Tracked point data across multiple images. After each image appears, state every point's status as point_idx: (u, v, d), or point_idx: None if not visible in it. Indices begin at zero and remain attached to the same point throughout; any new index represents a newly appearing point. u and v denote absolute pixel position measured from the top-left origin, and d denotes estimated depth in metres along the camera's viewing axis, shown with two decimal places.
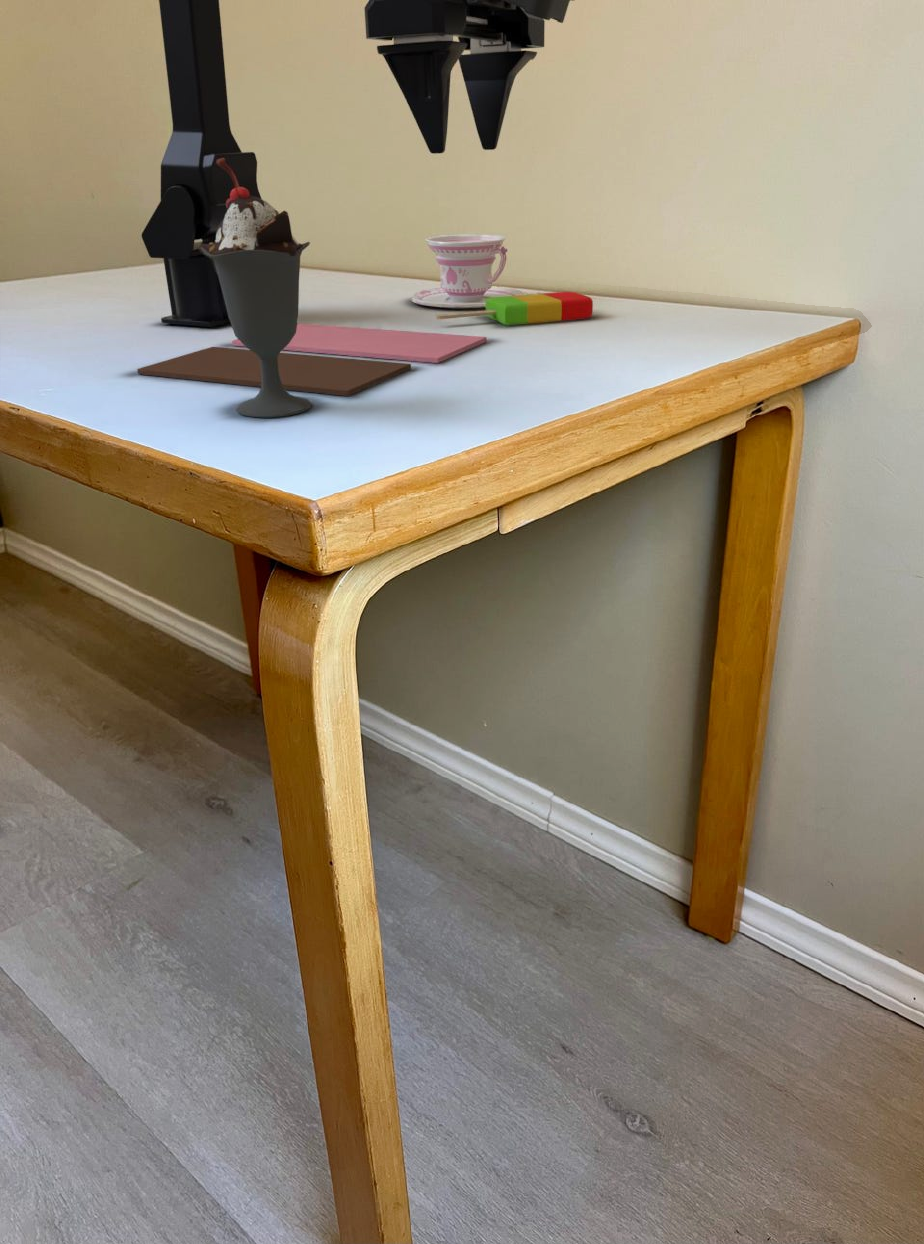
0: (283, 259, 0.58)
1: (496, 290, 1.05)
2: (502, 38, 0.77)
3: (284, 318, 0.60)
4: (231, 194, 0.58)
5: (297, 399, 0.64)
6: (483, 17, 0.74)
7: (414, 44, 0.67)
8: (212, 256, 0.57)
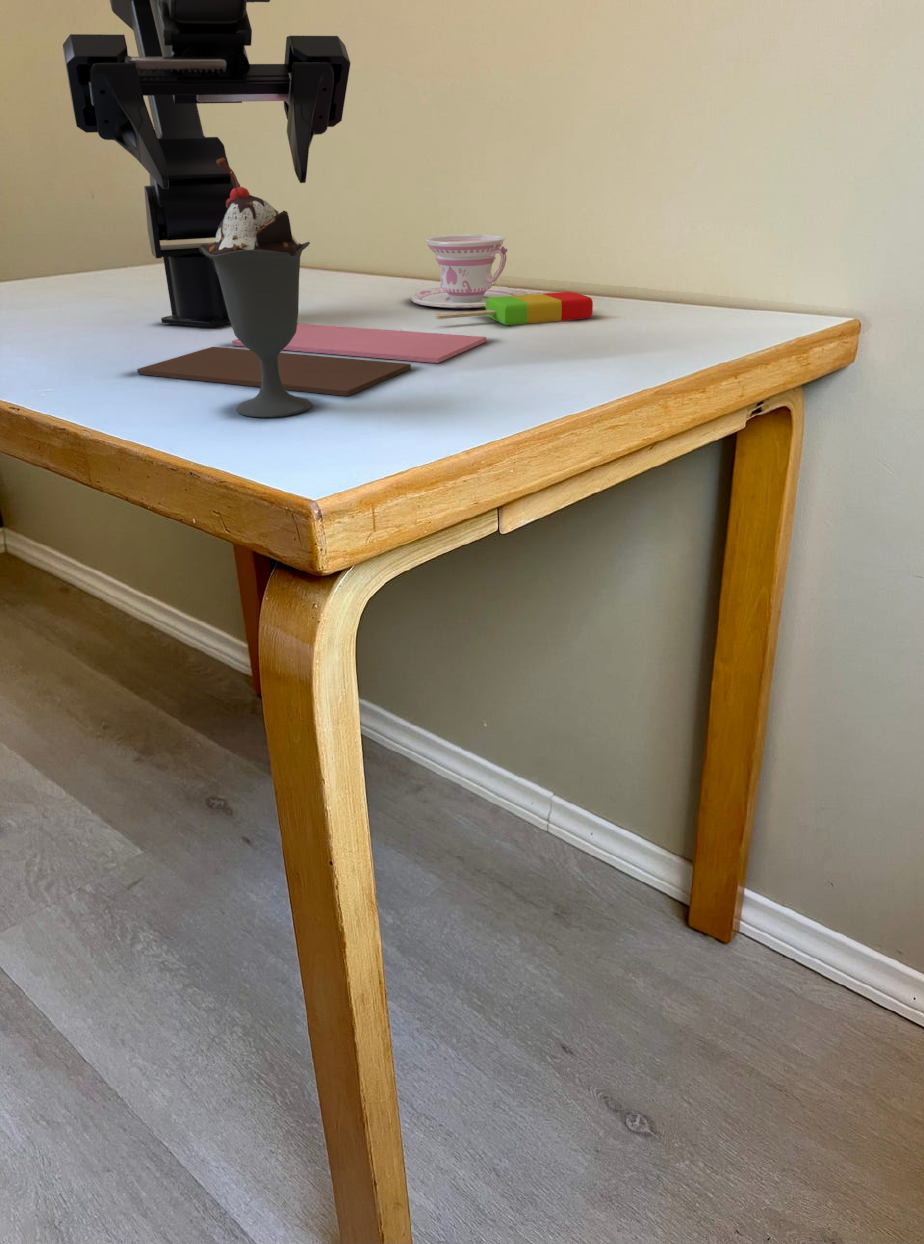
0: (283, 259, 0.58)
1: (496, 290, 1.05)
2: (290, 76, 0.68)
3: (284, 318, 0.60)
4: (231, 194, 0.58)
5: (297, 399, 0.64)
6: (248, 67, 0.68)
7: (93, 97, 0.64)
8: (212, 256, 0.57)
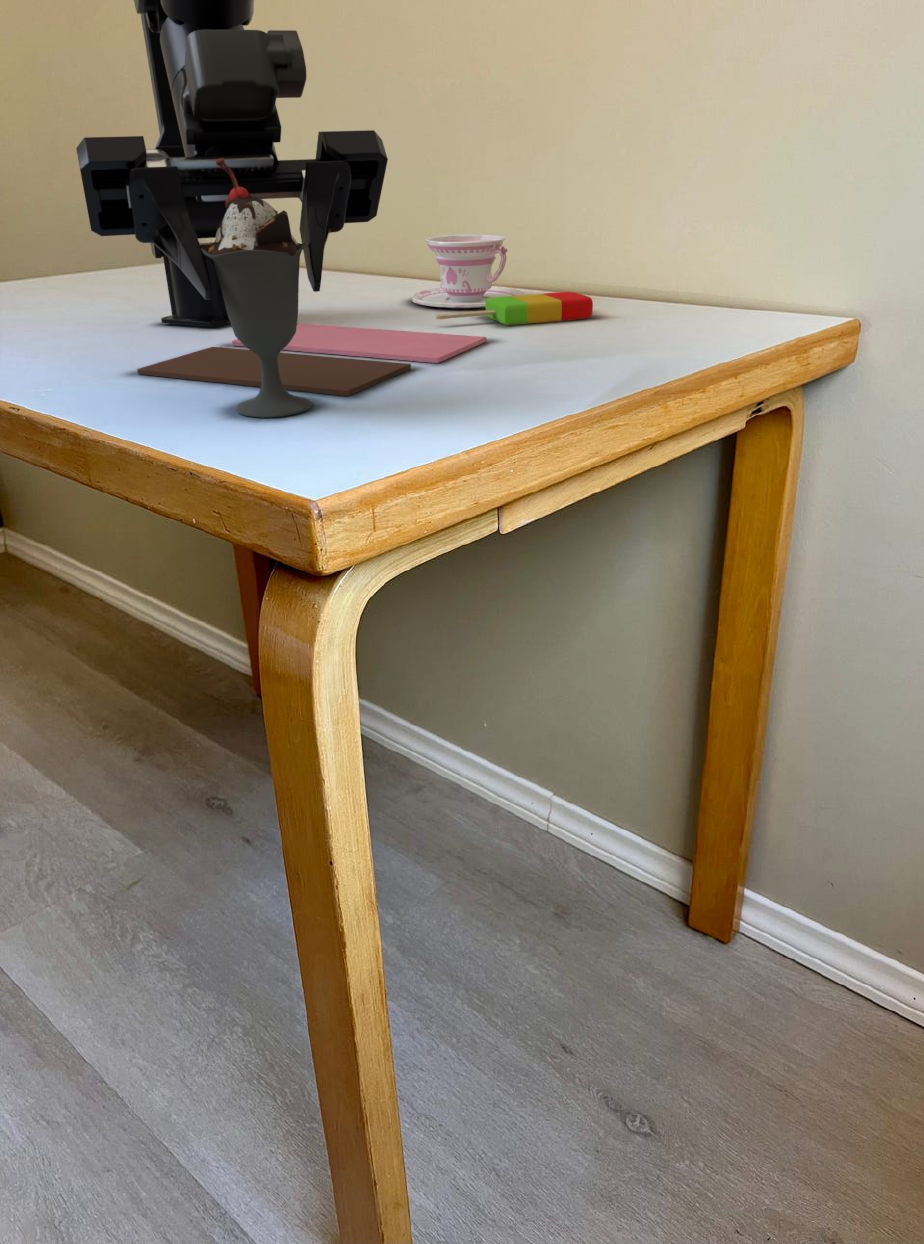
0: (283, 259, 0.58)
1: (496, 290, 1.05)
2: (303, 174, 0.62)
3: (284, 318, 0.60)
4: (230, 194, 0.58)
5: (297, 399, 0.64)
6: (277, 164, 0.62)
7: None
8: (212, 256, 0.57)
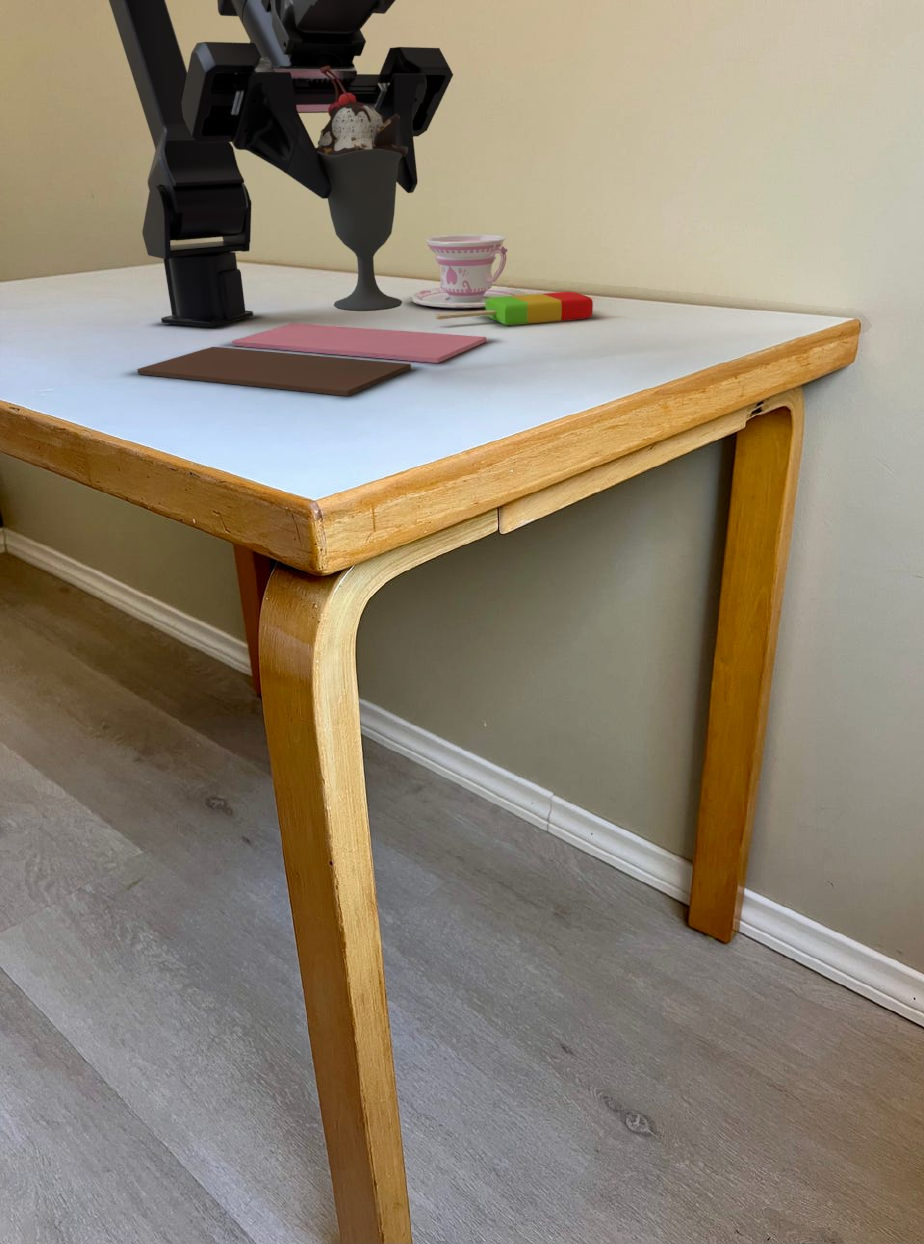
0: (394, 159, 0.64)
1: (496, 290, 1.05)
2: (380, 87, 0.68)
3: (389, 216, 0.66)
4: (341, 99, 0.63)
5: (388, 296, 0.70)
6: None
7: (240, 107, 0.63)
8: (333, 156, 0.62)
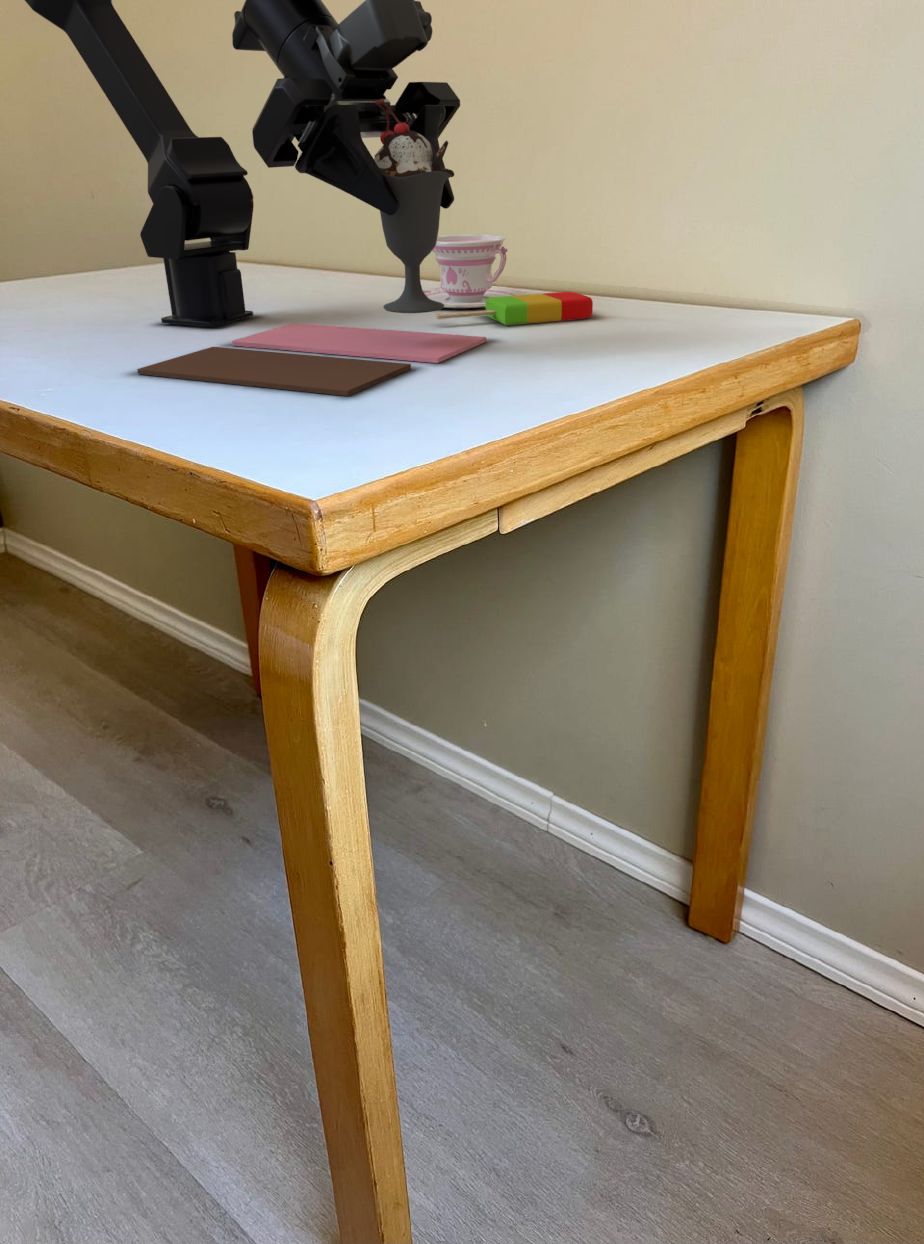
0: (445, 179, 0.74)
1: (496, 290, 1.05)
2: (405, 116, 0.77)
3: (437, 229, 0.76)
4: (399, 128, 0.72)
5: None
6: None
7: (312, 135, 0.70)
8: (401, 178, 0.71)
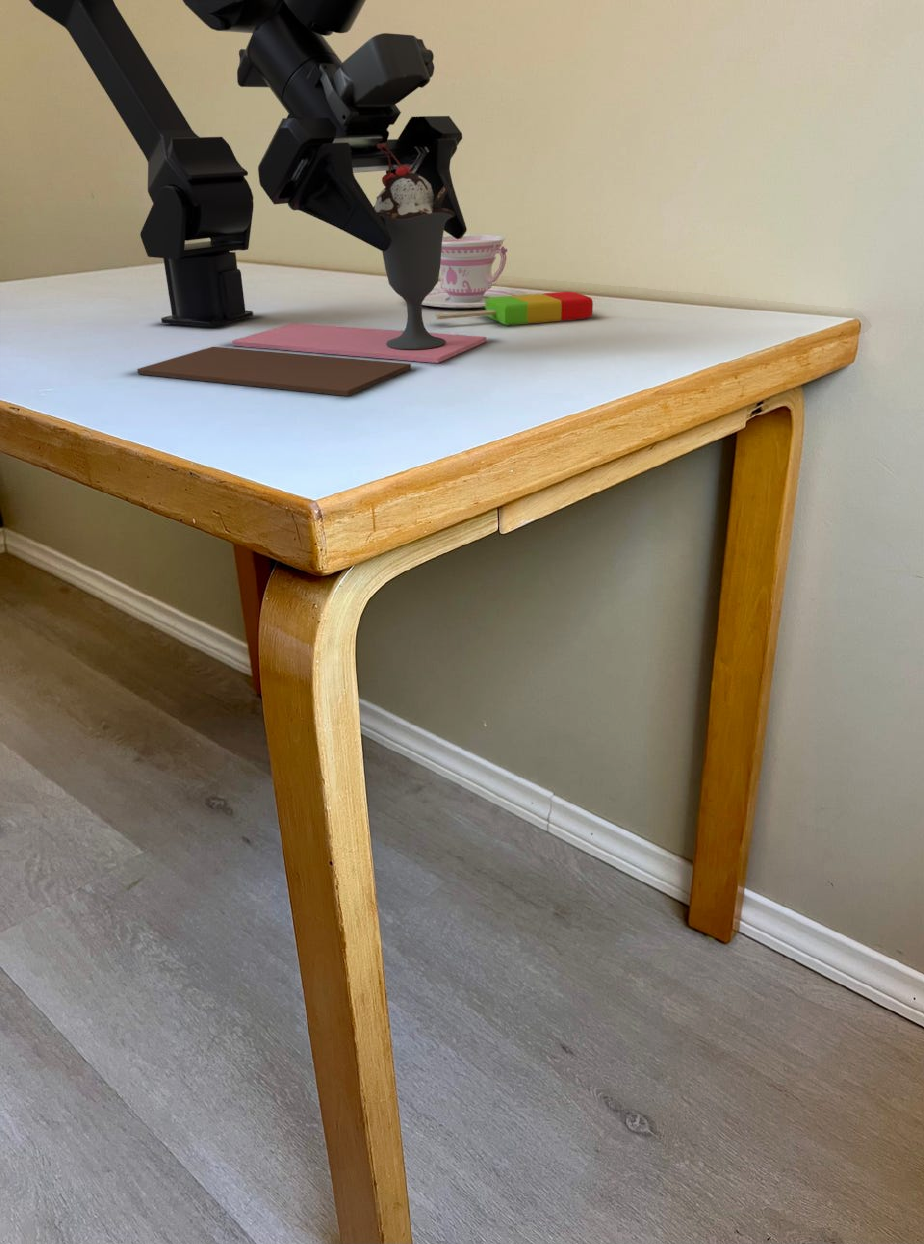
0: (446, 220, 0.75)
1: (496, 290, 1.05)
2: (418, 150, 0.79)
3: (439, 268, 0.77)
4: (400, 171, 0.73)
5: None
6: (385, 142, 0.77)
7: (304, 173, 0.70)
8: (402, 219, 0.73)
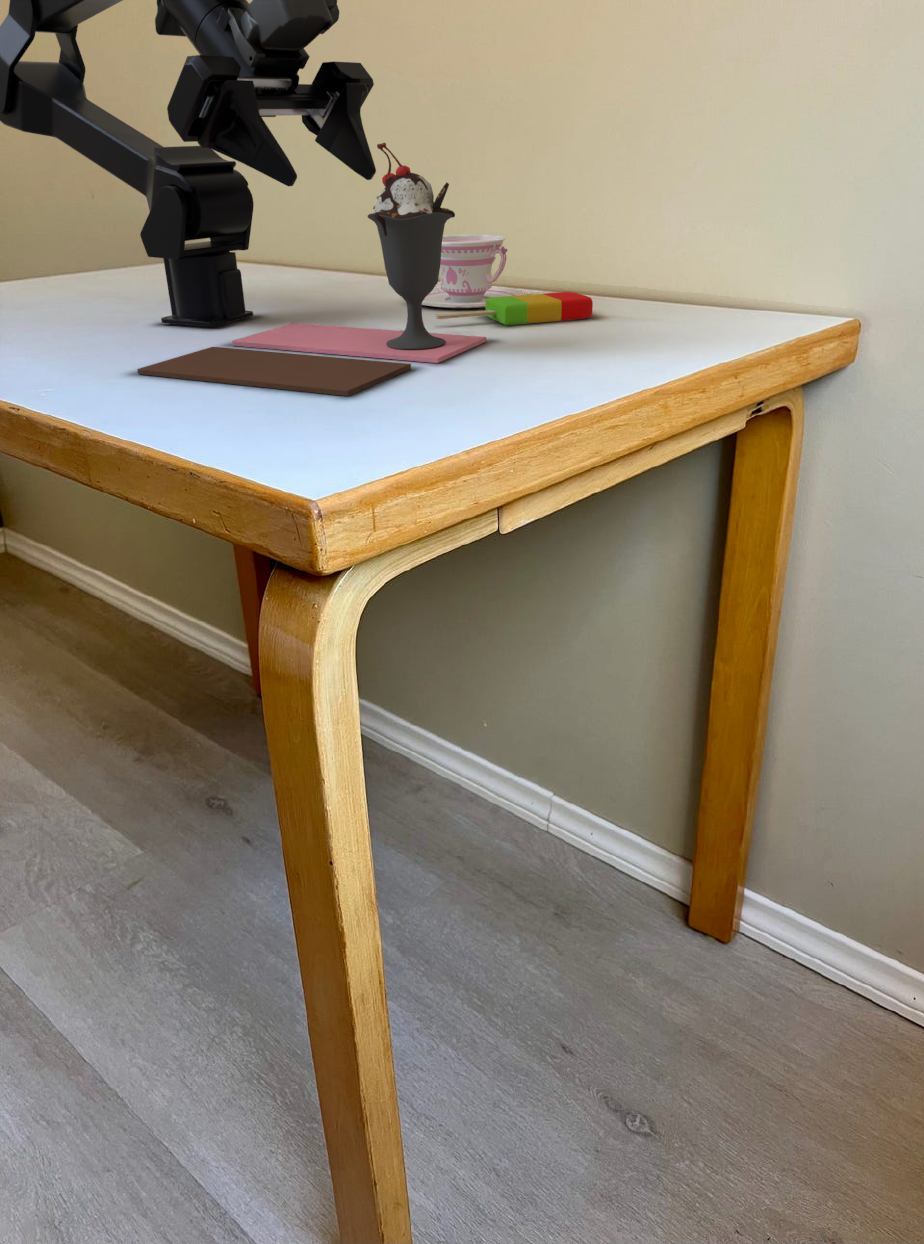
0: (446, 220, 0.75)
1: (496, 290, 1.05)
2: (329, 94, 0.82)
3: (439, 268, 0.77)
4: (400, 171, 0.73)
5: None
6: (297, 86, 0.81)
7: (210, 110, 0.73)
8: (402, 219, 0.73)
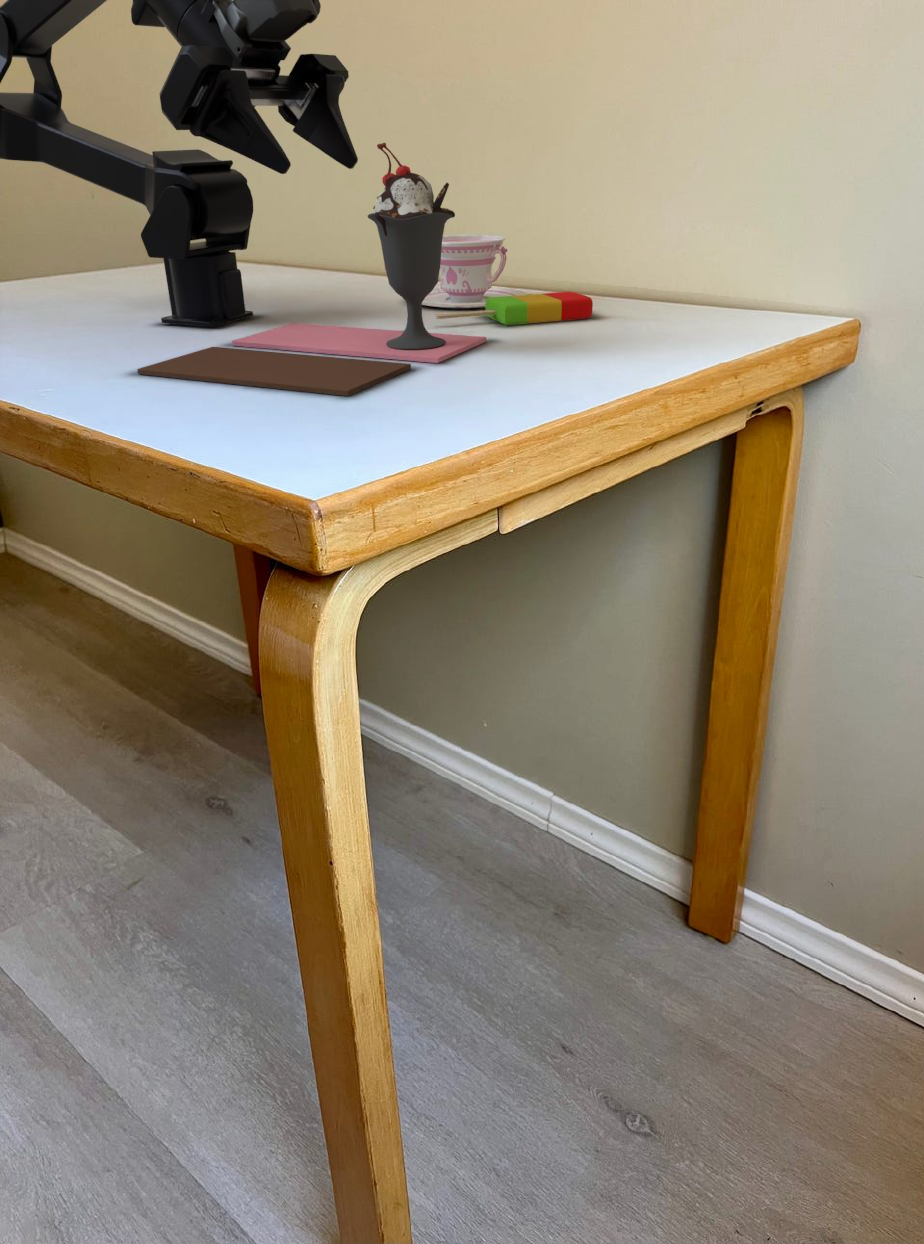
0: (446, 220, 0.75)
1: (496, 290, 1.05)
2: (308, 86, 0.85)
3: (439, 268, 0.77)
4: (400, 171, 0.73)
5: None
6: (277, 77, 0.83)
7: (205, 99, 0.75)
8: (402, 219, 0.73)
